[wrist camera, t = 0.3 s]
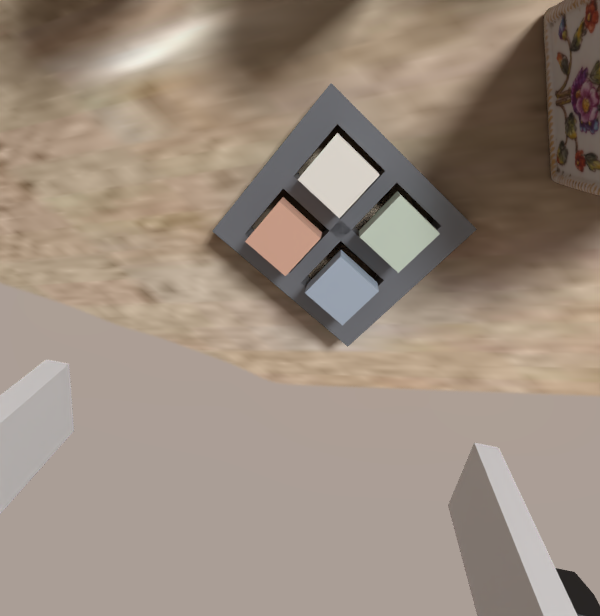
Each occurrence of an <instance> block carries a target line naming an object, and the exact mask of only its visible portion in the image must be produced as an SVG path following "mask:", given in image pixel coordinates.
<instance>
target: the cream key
mask: <svg viewBox="0 0 600 616" xmlns="http://www.w3.org/2000/svg"><path fill="white" fill-rule="evenodd" d="M378 177H379V173H378V172H377V171H376V170H375V169H374V168H373V167H372V166H371V165H370V164H369V163H368V162H367V161H366V160H365V159H364V158H363V157H362V156H361V155H360V154H359V153H358V152H357V151H356V150H355V149H354V148H353V147H352V146H351V145H350V144H349V143H348V142H347V141H346V140H345V139H343V138H342V137H341V136H340V135H339V134H338V133H337V134H336V135H335V136H334V137H333V139H332V140H331V141H330V142H329V143H328V144H327V146H326V147H325V148H324V149H323V150H322V151H321V153H320V154H319V155H318V156H317V157H316V159H315V160H314V161H313V162H312V163H311V164H310V166H309V167H308V168H307V169H306V170H305V172H304V173H303V174H302V175H301V176H300V177H299V179H298V181H300V182H301V183H302V184H303V185H304V186H305V187H306V188H307V189H308V190H309V191H310V192H311V193H312V194H314V195H315V196H316V197H317V198H318V199H319V200H320V201H321V202H322V203H323V204H324V205H325V206H327V207H328V208H329V209H330V210H331V211H332V212H333V213H334V214H335V215H336V216H337V217H338V218H340V217H341V216H342V215H343V214H344V213H345V212H346V211H347V210H348V209H349V208H350V207H351V205H352V204H353V203H354V202H355V201H356V200H357V199H358V198H359V197H360V196H361V195H362V194H363V193H364V192H365V190H366V189H367V188H368V187H369V186H370V185H371V184H372V183H373V182H374V181H375V180H376V179H377V178H378Z"/></svg>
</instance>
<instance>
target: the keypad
mask: <svg viewBox="0 0 600 616" xmlns="http://www.w3.org/2000/svg"><path fill="white" fill-rule="evenodd" d="M337 125H339V126H340V127H341V128H342V129H343V130H344V131H345V132H346V133H347V134H348V135H349V136H350V137H351V138H352V139H353V140H354V141H355V142H356V143H357V144H358V145H359V146H360V147H361V148H362V149H363V150H364V151H365V152H366V153H367V154H368V155H369V156H370V157H372V158H373V159H374V160H375V161H376V162H377V163H378V164H379V165H380V166H381V167H382V169H381V170H380V171H379V172H378V173H379V177H378V178H377V179H376V180H375V181H374V182H373V183H372V184H371V185H370V186H369V187H368V188H367V189H366V190H365V192H364V193H363V194H362V195H361V196H360V197H359V198H358V199H357V200H356V201H355V202H354V203H353V204H352V205H351V207H350V208H349V209H348V210H347V211H346V212H345V213H344V214H343V215H342V216H341V217H340V218H338V217H337V216H336V215H335V214H334V213H333V212H332V211H331V210H330V209H329V208H328V207H327V206H325V205H324V204H323V203H322V202H321V201H320V200H319V199H318V198H317V197H316V196H315V195H314V194H312V193H311V192H310V191H309V190H308V189H307V188H306V187H305V186H304V185H303V184H302V183H301V182H300V181H298V179H299V177H300V175H299V174H298V173H297V172H298V171H299V170H300V169H301V167H302V166H303V165H304V164H305V163H306V161H307V160H308V159H309V158H310V157H311V155H312V154H313V153H314V152H315V151H316V150H317V148H318V147H319V146H320V145H321V144H322V142H323V141H324V140H325V139H326V138H327V136H328V135H329V134H330V133H331V132H332V131H333V129H334V128H335V127H336V126H337ZM396 183H398V184H399V185H400V186H401V187H402V188H403V189H404V190H405V191H406V192H407V193H408V194H409V195H410V196H411V197H412V198H413V199H414V200H415V201H416V202H417V203H418V204H419V205H420V206H421V207H422V208H423V209H424V210H425V211H426V212H427V213H429V214H430V215H431V216H432V217H433V218H434V219H435V220H434V221H432V222H431V223H430V224H431V225H433V226H434V227H435V229H436V230H437V231H438V232H439V233H440V234H439V235H438V236H437V237H436V238H435V239H434V240H433V241H432V242H431V243H430V244H429V245H428V246H427V247H426V248H424V249H423V250H422V251H421V252H420V253H419V254H418V255H417V256H416V257H415V258H414V259H413V260H412V261H411V262H410V263H408V264H407V265H406V266H405V267H404V268H403V269H402V270H401V271H400V272H399V273H398V272H397V271H396V270H395V269H394V268H392V267H391V266H390V265H389V264H388V263H387V262H386V261H385V260H384V259H383V258H382V257H381V256H379V255H378V254H377V253H376V252H375V251H374V250H373V249H372V248H371V247H370V246H369V245H368V244H367V243H365V242H364V241H363V240H362V239H361V238H360V237H359V230H358V229H357V228H356V227H355V226H356V224H357V223H358V222H359V221H360V220H361V219H362V218H363V217H364V216H365V215H366V214H367V213H368V212H369V211H370V210H371V209H372V208H373V207H374V206H375V205H376V204H377V203H378V202H379V200H380V199H381V198H382V197H383V196H384V195H385V194H386V193H387V192H388V191H389V190H390V189H391V188H392V187H393V186H394V185H395V184H396ZM283 189H284V190H285V191H286V192H288V193H289V194H290V195H291V196H292V197H293V198H294V199H295V200H296V201H297V202H299V203H300V204H301V205H302V206H303V207H304V208H305V209H306V210H307V211H308V212H309V213H311V214H312V215H313V216H314V217H315V218H316V219H317V220H318V221H319V222H320V223H322V224H323V225H324V226H325V227H326V229H325V230H324V231H323V232H322V234H321V239H320V240H319V241H318V242H317V243H316V244H315V245H314V246H313V247H312V248H311V249H310V250H309V252H308V253H307V254H306V255H305V256H304V257H303V258H302V259H301V260H300V261H299V262H298V263H297V264H296V265H295V267H294V268H293V269H292V270H291V271H290V272H289V273H288V274H287V275H286V276H284V275H283V274H282V273H281V272H280V271H279V270H278V269H276V268H275V267H274V266H273V265H272V264H271V263H269V262H268V261H267V260H266V259H265V258H264V257H262V256H261V255H260V254H259V253H258V252H257V251H255V250H254V249H253V248H252V247H251V246H250V245H248V244H247V243H246V242H245V241H246V240H247V239H248V237H249V236H250V235H251V234H252V233H253V232H254V229H253V228H252V226H253V224H254V223H255V222H256V221H257V220H258V218H259V217H260V216H261V215H262V214H263V212H264V211H265V210H266V209H267V208H268V207H269V205H270V204H271V203H272V202H273V201H274V199H275V198H276V197H277V196H278V195H279V193H280V192H281V191H282V190H283ZM476 230H477V229H476V228H475V227H474V226H473V225H472V224H471V223H470V222H469V221H468V220H467V219H466V218H465V217H464V216H463V215H462V214H461V213H460V212H459V211H458V210H457V209H456V208H455V207H454V206H453V205H452V204H451V203H450V202H449V201H448V200H447V199H446V198H445V197H444V196H443V195H442V194H441V193H440V192H439V191H438V190H437V189H436V188H435V187H434V186H433V185H432V184H431V183H430V182H429V181H428V180H427V179H426V178H425V177H424V176H423V175H422V174H421V173H420V172H419V171H418V170H417V169H416V168H415V167H414V166H413V165H412V164H411V163H410V162H409V161H408V160H407V159H406V158H405V157H404V156H403V155H402V154H401V153H400V152H399V151H398V150H397V149H396V148H395V147H394V146H393V145H392V144H391V143H390V142H389V141H388V140H387V139H386V138H385V137H384V136H383V135H382V134H381V133H380V132H379V131H378V130H377V129H376V128H375V127H374V126H373V125H372V124H371V123H370V122H369V121H368V120H367V119H366V118H365V117H364V116H363V115H362V114H361V113H360V112H359V111H358V110H357V109H356V108H355V107H354V106H353V105H352V104H351V103H350V102H349V101H348V100H347V99H346V98H345V97H344V96H343V95H342V94H341V93H340V92H339V91H338V90H337V88H336V87H335V86H334V85H333V84H332V83H331V84H330V85H329V86H328V88H327V89H326V90H325V91H324V93H323V94H322V95H321V96H320V98H319V99H318V100H317V101H316V103H315V104H314V105H313V106H312V107H311V109H310V110H309V111H308V112H307V114H306V115H305V116H304V117H303V119H302V120H301V121H300V122H299V124H298V125H297V126H296V127H295V129H294V130H293V131H292V132H291V134H290V135H289V136H288V137H287V139H286V140H285V141H284V142H283V144H282V145H281V146H280V147H279V149H278V150H277V151H276V152H275V154H274V155H273V156H272V157H271V159H270V160H269V161H268V162H267V164H266V165H265V166H264V167H263V169H262V170H261V171H260V172H259V174H258V175H257V176H256V177H255V179H254V180H253V181H252V182H251V184H250V185H249V186H248V187H247V189H246V190H245V191H244V192H243V194H242V195H241V196H240V197H239V199H238V200H237V201H236V202H235V204H234V205H233V206H232V207H231V209H230V210H229V211H228V212H227V214H226V215H225V216H224V217H223V218H222V220H221V221H220V222H219V223H218V225H217V226H216V227H215V228H214V230H213V232H214V233H215V234H216V235H217V236H218V237H220V238H221V239H222V240H223V241H224V242H226V243H227V244H228V245H229V246H230V247H231V248H233V249H234V250H235V251H236V252H237V253H238V254H240V255H241V256H242V257H243V258H244V259H245V260H247V261H248V262H249V263H250V264H251V265H253V266H254V267H255V268H256V269H257V270H258V271H260V272H261V273H262V274H263V275H264V276H265V277H267V278H268V279H269V280H270V281H271V282H273V283H274V284H275V285H276V286H277V287H278V288H280V289H281V290H282V291H283V292H284V293H285V294H287V295H288V296H289V297H290V298H291V299H292V300H294V301H295V302H296V303H297V304H298V305H300V306H301V307H302V308H303V309H304V310H305V311H307V312H308V313H309V314H310V315H311V316H312V317H314V318H315V319H316V320H317V321H318V322H319V323H321V324H322V325H323V326H324V327H325V328H327V329H328V330H329V331H330V332H331V333H332V334H334V335H335V336H336V337H337V338H338V339H339V340H341V341H342V342H343V343H344V344H345V345H346V346H349V345H350V344H351V343H352V342H353V341H354V340H355V339H357V338H358V337H359V336H360V335H361V334H362V333H363V332H364V331H365V330H366V329H368V328H369V327H370V326H371V325H372V324H373V323H374V322H375V321H376V320H378V319H379V318H380V317H381V316H382V315H383V314H384V313H385V312H386V311H387V310H389V309H390V308H391V307H392V306H393V305H394V304H395V303H396V302H397V301H398V300H400V299H401V298H402V297H403V296H404V295H405V294H406V293H407V292H408V291H409V290H411V289H412V288H413V287H414V286H415V285H416V284H417V283H418V282H419V281H420V280H422V279H423V278H424V277H425V276H426V275H427V274H428V273H429V272H430V271H431V270H433V269H434V268H435V267H436V266H437V265H438V264H439V263H440V262H441V261H442V260H444V259H445V258H446V257H447V256H448V255H449V254H450V253H451V252H452V251H453V250H455V249H456V248H457V247H458V246H459V245H460V244H461V243H462V242H463V241H465V240H466V239H467V238H468V237H469V236H470V235H471V234H472V233H473V232H474V231H476ZM340 241H341V242H342V243H343V244H345V245H346V246H347V247H348V248H349V249H350V250H351V251H352V252H353V253H354V254H356V255H357V256H358V257H359V258H360V259H361V260H362V261H363V262H364V263H365V264H366V265H368V266H369V267H370V268H371V269H372V270H373V271H374V272H375V273H376V274H377V275H376V276H375V277H374V278H373V279H374V280H375V281H376V282H377V284H378V289H379V292H378V293H377V294H375V295H374V296H373V297H372V298H371V299H370V300H369V301H368V302H367V303H366V304H365V305H364V306H363V307H362V308H361V309H359V310H358V311H357V312H356V313H355V314H354V315H353V316H352V317H351V318H350V319H349V320H348V321H347V322H346V323H345V324H344V325H341V324H340V323H339V322H338V321H337V320H336V319H334V318H333V317H332V316H331V315H330V314H329V313H327V312H326V311H325V310H324V309H323V308H322V307H320V306H319V305H318V304H317V303H316V302H315V301H313V300H312V299H311V298H310V297H309V296H308V295H307V294H305V290H306V286H307V284H308V283H309V282H310V281H311V279H310V278H309V277H308V275H309V273H310V272H311V271H312V270H313V269H314V268H315V267H316V266H317V265H318V264H319V263H320V262H321V261H322V260H323V259H324V258H325V257H326V256H327V255H328V254H329V253H330V252H331V251H332V250H333V248H334V247H335V246H336V245H337V244H338V243H339V242H340Z"/></svg>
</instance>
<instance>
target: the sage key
mask: <svg viewBox="0 0 600 616" xmlns="http://www.w3.org/2000/svg"><path fill="white" fill-rule="evenodd" d="M439 234H440V233H439V232H438V231H437V230H436V229H435V227H434V226H433V225H431V224H430V223H429V222H428V221H427V220H426V219H425V218H424V217H423V216H422V215H421V214H420V213H419V212H418V211H417V210H416V209H415V208H414V207H413V206H412V205H411V204H410V203H409V202H408V201H407V200H406V199H405V198H404V197H403V196H402V195H401V194H400V193H399V192H398V191H397V192H396V193H395V194H394V195H393V196H392V197H391V198H390V199H389V200H388V201H387V202H386V203H385V204H384V205H383V206H382V207H381V208H380V209H379V210H378V211H377V212H376V214H375V215H374V216H373V217H372V218H371V219H370V220H369V221H368V222H367V223H366V224H365V225H364V226H363V227H362V228H361V229H360V230H359V237H360V238H361V239H362V240H363V241H364V242H365V243H367V244H368V245H369V246H370V247H371V248H372V249H373V250H374V251H375V252H376V253H377V254H378V255H379V256H381V257H382V258H383V259H384V260H385V261H386V262H387V263H388V264H389V265H390V266H391V267H392V268H394V269H395V270H396V271H397V272H398V273H399V272H400V271H401V270H402V269H403V268H404V267H405V266H406V265H407V264H408V263H410V262H411V261H412V260H413V259H414V258H415V257H416V256H417V255H418V254H419V253H420V252H421V251H422V250H423V249H424V248H426V247H427V246H428V245H429V244H430V243H431V242H432V241H433V240H434V239H435V238H436V237H437V236H438V235H439Z"/></svg>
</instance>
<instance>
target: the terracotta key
mask: <svg viewBox="0 0 600 616" xmlns="http://www.w3.org/2000/svg"><path fill="white" fill-rule="evenodd" d="M321 234H322V232H321V231H320V230H319V229H318V228H317V227H316V226H315V225H313V224H312V223H311V222H310V221H309V220H308V219H307V218H306V217H305V216H304V215H302V214H301V213H300V212H299V211H298V210H297V209H296V208H295V207H294V206H293V205H291V204H290V203H289V202H288V201H287V200H286V199H285V198H284V197H282V199H281V200H280V201H279V202H278V203H277V204H276V206H275V207H274V208H273V209H272V210H271V212H270V213H269V214H268V215H267V216H266V217H265V219H264V220H263V221H262V222H261V223H260V225H259V226H258V227H257V228H256V229H255V230H254V232H253V233H252V234H251V235H250V236H249V237H248V239H247V240H246V241H245V242H246V243H247V244H248V245H250V246H251V247H252V248H253V249H254V250H255V251H257V252H258V253H259V254H260V255H261V256H262V257H264V258H265V259H266V260H267V261H268V262H269V263H271V264H272V265H273V266H274V267H275V268H276V269H278V270H279V271H280V272H281V273H282V274H283V275H284V276H286V275H287V274H288V273H289V272H290V271H291V270H292V269H293V268H294V267H295V265H296V264H297V263H298V262H299V261H300V260H301V259H302V258H303V257H304V256H305V255H306V254H307V253H308V252H309V250H310V249H311V248H312V247H313V246H314V245H315V244H316V243H317V242H318V241H319V240H320V239H321Z"/></svg>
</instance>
